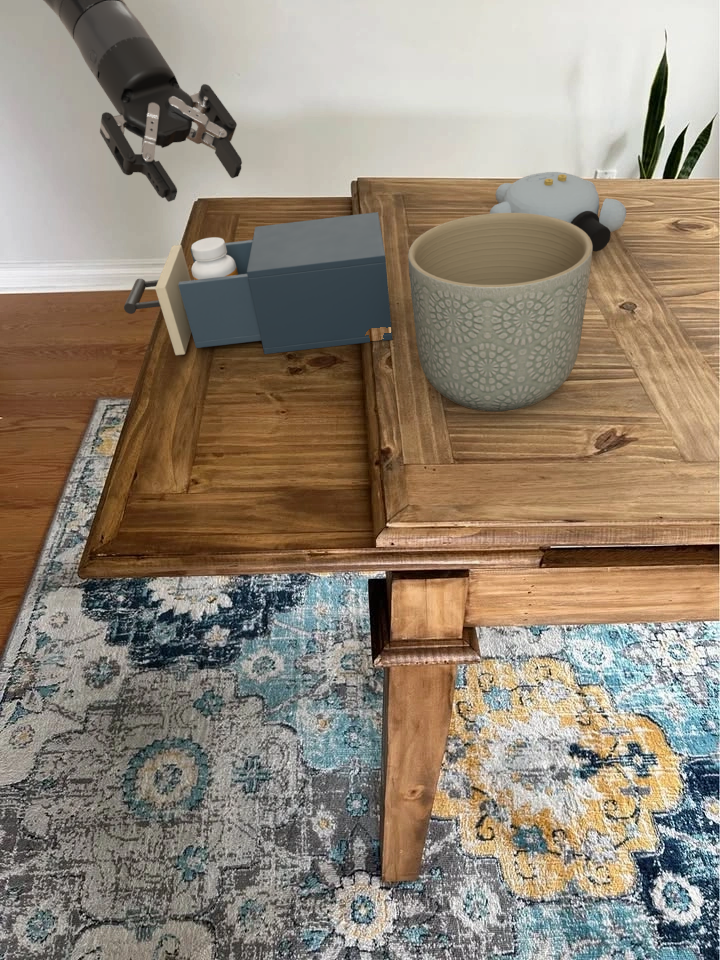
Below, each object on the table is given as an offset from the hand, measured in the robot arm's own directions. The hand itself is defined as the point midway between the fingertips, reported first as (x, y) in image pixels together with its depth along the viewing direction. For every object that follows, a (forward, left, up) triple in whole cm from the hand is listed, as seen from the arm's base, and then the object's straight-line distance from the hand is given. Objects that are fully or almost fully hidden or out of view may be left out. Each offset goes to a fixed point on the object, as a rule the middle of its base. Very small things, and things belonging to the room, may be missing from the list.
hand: (205, 184), depth 81 cm
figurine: (+44, +18, -19) cm, 51 cm away
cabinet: (+11, +1, -19) cm, 22 cm away
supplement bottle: (-2, +1, -17) cm, 17 cm away
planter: (+29, -18, -19) cm, 39 cm away
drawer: (-3, +1, -18) cm, 18 cm away
